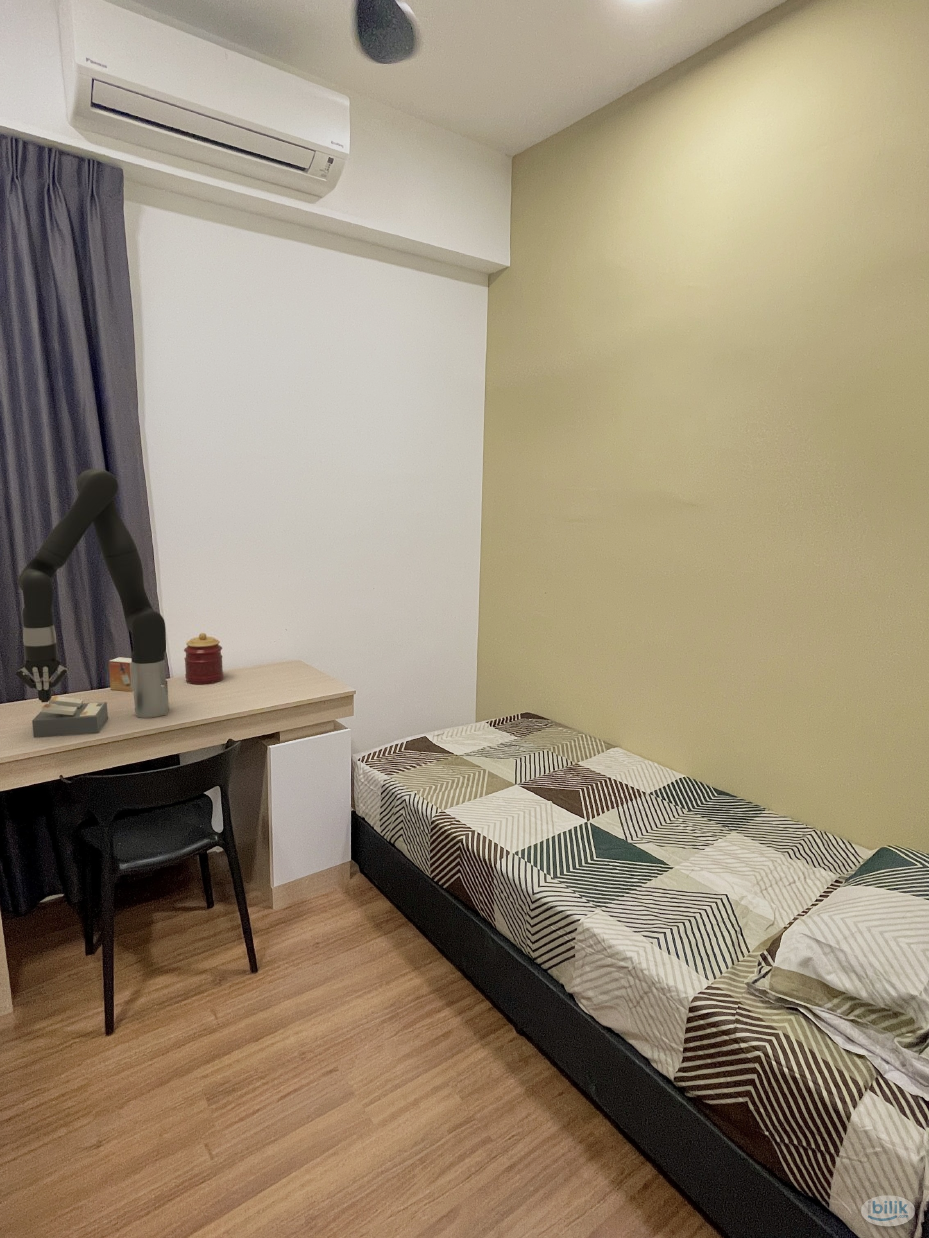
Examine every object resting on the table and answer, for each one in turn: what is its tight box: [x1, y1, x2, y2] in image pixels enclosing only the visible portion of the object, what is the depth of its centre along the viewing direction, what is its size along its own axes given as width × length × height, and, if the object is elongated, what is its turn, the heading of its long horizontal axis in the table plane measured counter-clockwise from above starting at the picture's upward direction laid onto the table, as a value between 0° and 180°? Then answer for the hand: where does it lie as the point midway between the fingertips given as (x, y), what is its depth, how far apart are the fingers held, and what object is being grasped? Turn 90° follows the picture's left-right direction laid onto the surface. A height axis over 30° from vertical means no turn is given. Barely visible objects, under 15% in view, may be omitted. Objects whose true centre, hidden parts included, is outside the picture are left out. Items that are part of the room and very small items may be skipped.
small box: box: [108, 656, 134, 693], centre depth 224 cm, size 8×6×10 cm
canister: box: [183, 632, 224, 685], centre depth 237 cm, size 13×13×18 cm
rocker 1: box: [48, 695, 84, 707], centre depth 191 cm, size 8×4×1 cm, turn 108°
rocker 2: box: [40, 703, 77, 715], centre depth 184 cm, size 8×4×1 cm, turn 108°
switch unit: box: [31, 701, 109, 739], centre depth 189 cm, size 16×13×6 cm
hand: (45, 701), depth 183 cm, fingers closed
